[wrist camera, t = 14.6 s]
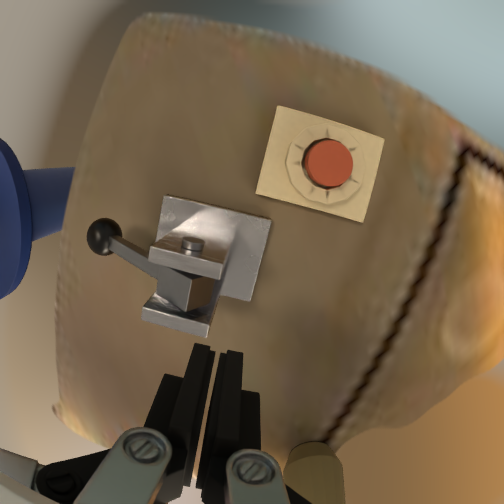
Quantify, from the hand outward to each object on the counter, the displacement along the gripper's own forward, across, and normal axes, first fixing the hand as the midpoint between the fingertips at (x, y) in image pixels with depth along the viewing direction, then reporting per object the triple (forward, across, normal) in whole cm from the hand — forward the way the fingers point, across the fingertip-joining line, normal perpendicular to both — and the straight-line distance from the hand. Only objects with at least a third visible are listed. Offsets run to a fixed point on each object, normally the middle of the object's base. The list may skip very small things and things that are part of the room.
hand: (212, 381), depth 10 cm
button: (+17, -6, -9) cm, 20 cm away
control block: (+20, -6, -9) cm, 22 cm away
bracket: (+20, +3, +1) cm, 20 cm away
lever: (+14, +6, +1) cm, 15 cm away
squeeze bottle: (+20, -16, +27) cm, 37 cm away
